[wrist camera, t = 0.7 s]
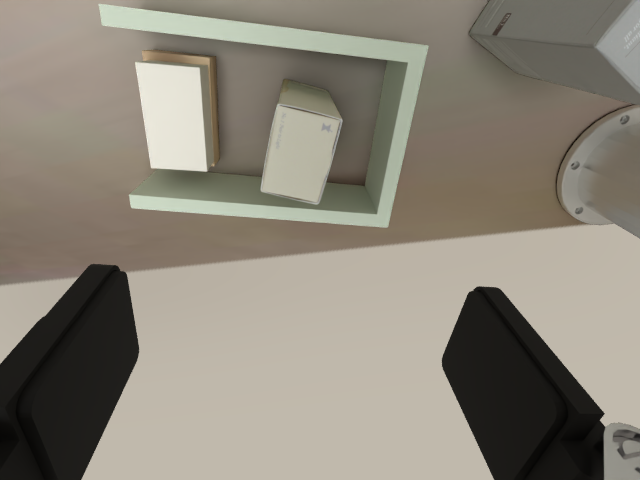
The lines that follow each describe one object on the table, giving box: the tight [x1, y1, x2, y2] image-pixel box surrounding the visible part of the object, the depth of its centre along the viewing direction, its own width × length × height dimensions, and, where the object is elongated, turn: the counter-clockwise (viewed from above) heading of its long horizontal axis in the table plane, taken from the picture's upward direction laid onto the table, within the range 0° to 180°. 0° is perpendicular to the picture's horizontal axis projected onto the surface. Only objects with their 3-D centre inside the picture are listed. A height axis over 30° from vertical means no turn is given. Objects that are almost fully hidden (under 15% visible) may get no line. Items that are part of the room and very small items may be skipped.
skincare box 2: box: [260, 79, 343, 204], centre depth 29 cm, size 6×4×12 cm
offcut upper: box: [135, 60, 214, 172], centre depth 30 cm, size 5×8×3 cm, turn 175°
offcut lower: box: [142, 50, 220, 166], centre depth 32 cm, size 5×9×3 cm, turn 174°
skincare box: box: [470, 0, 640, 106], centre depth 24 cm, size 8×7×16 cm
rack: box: [99, 4, 428, 228], centre depth 31 cm, size 22×14×7 cm, turn 84°
